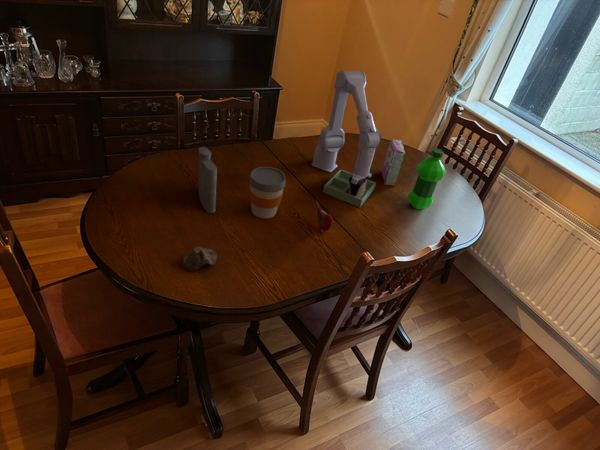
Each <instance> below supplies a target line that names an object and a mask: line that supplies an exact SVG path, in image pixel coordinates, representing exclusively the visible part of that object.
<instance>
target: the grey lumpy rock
mask: <svg viewBox="0 0 600 450" xmlns="http://www.w3.org/2000/svg"><path fill="white" fill-rule="evenodd" d="M182 257H183V258H182V265H183V267H184V268H186V270H188V271H190V272H197V271H199V270H200V269H201V268H203V266H208V267H213V266H214V265H216V264H217V260H218V255H217V252H216V251H215V250H214V249H213V248H212V246H205V247H204V246H203V247H201V246H198V245H197V246H195V247H193V249H192V250H190V251H188V252H185V253H183V254H182Z"/></svg>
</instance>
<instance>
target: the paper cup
mask: <svg viewBox="0 0 600 450" xmlns="http://www.w3.org/2000/svg"><path fill="white" fill-rule="evenodd" d="M367 180H368V179H367ZM367 180H366V179H365V178H363V179H361V180H360V182H363V185H362V186H361V187H360V189H359V191H358V193H357V195H356V196H355V197H358V198H360V199H362V197H363V194H364V190H365V186H366V183H367ZM348 194H350V195H351V192H350V189H349V193H348Z"/></svg>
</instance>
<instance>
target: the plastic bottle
mask: <svg viewBox="0 0 600 450" xmlns="http://www.w3.org/2000/svg"><path fill="white" fill-rule="evenodd" d="M444 153H445V151H444V150H443V149H441V148H438V147H434V148H432V150H431V153H430V155H431V156H430V157H427V158H424V159H422V160H421V161H420V162H419V164H418V165H417V167H416V173H417V176H416V177H417V178H416V181H415V183H414V186H413V188H412V190H411V191H410V192H409V193H408V196H407V197H408V198H407V199H408V202H409V203H410V205H411V206H412V208H414V209H416V210H424V209H428V208H430V207H431V205H432V204H433V202H434V193H435V190H436V187H437V185H438V183H439V182H440V181H442V179H443V178H444V176H445V174H446V167H445V165H444V164H443V162H442V160H441V158H443V156H444Z"/></svg>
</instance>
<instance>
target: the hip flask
mask: <svg viewBox="0 0 600 450" xmlns="http://www.w3.org/2000/svg"><path fill="white" fill-rule="evenodd" d="M211 156H212V151H211V150H210V149H209V148H208V147H206V146H201V147H199V148H198V184H197V185H198V189H197V191H198V198H199V202H200V204H201V205H202V207H203V209H204V210H205V211H206V213H208V214H214V213H215V212H216V203H217V182H218V180H217V178H218V167H217V165H215V164H214V162H213V160H212V158H211Z"/></svg>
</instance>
